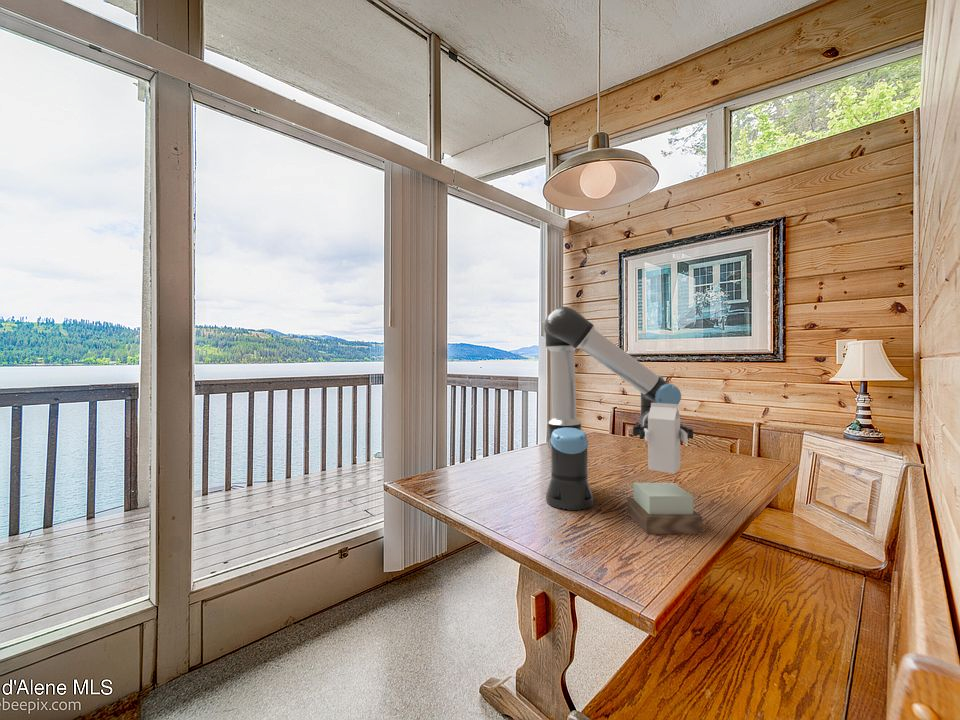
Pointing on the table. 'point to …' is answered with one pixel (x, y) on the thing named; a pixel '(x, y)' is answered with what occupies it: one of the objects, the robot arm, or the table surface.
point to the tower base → (664, 520)
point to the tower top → (662, 498)
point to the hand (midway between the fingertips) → (666, 437)
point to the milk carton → (664, 438)
